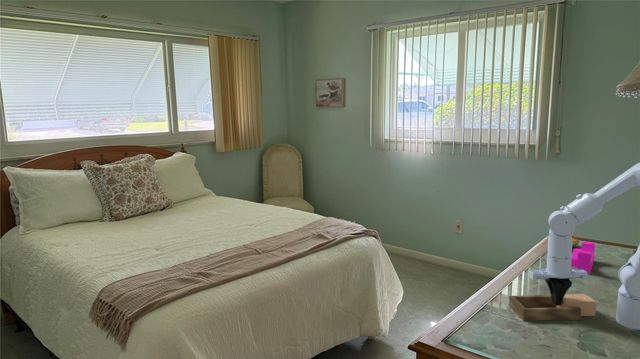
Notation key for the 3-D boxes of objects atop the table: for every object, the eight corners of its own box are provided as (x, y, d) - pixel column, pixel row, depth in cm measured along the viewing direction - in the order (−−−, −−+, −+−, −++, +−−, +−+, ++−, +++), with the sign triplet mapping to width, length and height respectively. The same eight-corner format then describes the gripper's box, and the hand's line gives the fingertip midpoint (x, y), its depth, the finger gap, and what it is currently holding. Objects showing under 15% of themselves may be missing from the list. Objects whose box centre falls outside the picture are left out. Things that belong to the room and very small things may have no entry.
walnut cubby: (562, 304, 126) (562, 294, 126) (580, 319, 117) (581, 308, 117) (508, 305, 126) (509, 295, 126) (523, 320, 117) (523, 309, 117)
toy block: (573, 260, 163) (575, 240, 162) (593, 263, 160) (595, 243, 159) (568, 272, 151) (569, 251, 150) (589, 275, 148) (591, 254, 147)
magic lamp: (551, 255, 169) (552, 226, 168) (563, 244, 182) (565, 217, 181) (571, 258, 165) (573, 229, 163) (582, 247, 178) (584, 220, 176)
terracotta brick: (584, 307, 124) (585, 294, 123) (595, 315, 119) (596, 301, 118) (555, 308, 124) (556, 294, 123) (565, 316, 119) (566, 302, 118)
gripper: (577, 250, 123) (575, 297, 125) (525, 251, 123) (523, 298, 125) (593, 258, 116) (590, 308, 118) (537, 260, 116) (535, 309, 118)
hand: (556, 304), depth 121 cm, fingers closed
